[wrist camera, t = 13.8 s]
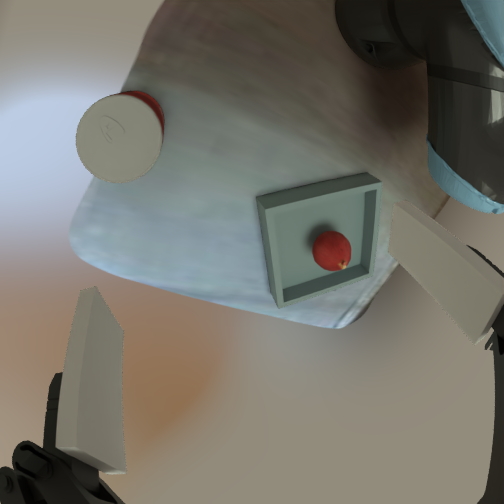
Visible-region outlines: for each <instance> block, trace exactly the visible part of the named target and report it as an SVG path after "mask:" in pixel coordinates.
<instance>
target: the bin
mask: <svg viewBox="0 0 504 504" xmlns="http://www.w3.org/2000/svg"><path fill="white" fill-rule="evenodd" d="M381 195H382V181H380V180H378V179H377V178H375V177H374V176H372V175H370V174H369V173H362V174H357V175H352V176H347V177H342V178H337V179H333V180H328V181H323V182H319V183H314V184H310V185H305V186H301V187H297V188H292V189H288V190H284V191H280V192H275V193H271V194H267V195H263V196H259V197H256V200H257V206H258V212H259V219H260V225H261V231H262V238H263V244H264V251H265V257H266V264H267V271H268V277H269V284H270V291H271V294H272V296H273V298H274V301H275V303H276V305H277V307H278V309H279V308H282V307H285V306H288V305H291V304H295V303H298V302H301V301H304V300H307V299H310V298H313V297H316V296H319V295H321V294H324V293H327V292H330V291H333V290H336V289H339V288H342V287H344V286H347V285H350V284H353V283H355V282H358V281H361V280H364V279H366V278H369V277H372V276H373V272H374V265H375V257H376V249H377V240H378V231H379V221H380V209H381ZM326 231H337V232H340V233H341V234H343V235H344V236H345V237H346V238H347V239H348V240H349V242H350V245H351V260H350V262H349V263H348V265H347V267H346V268H345V269H342V270H339V271H328V270H325V269H323V268H321V267H320V266H319V265H318V264H317V263H316V262H315V261H314V258H313V254H312V248H313V244H314V242H315V240H316V238H317V237H318V236H319V235H320V234H322V233H324V232H326Z"/></svg>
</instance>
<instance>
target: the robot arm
mask: <svg viewBox="0 0 504 504" xmlns="http://www.w3.org/2000/svg"><path fill="white" fill-rule="evenodd" d="M336 17H337V22H338V25H339V28H340V31H341V33H342V35H343V37H344V39H345V40H346V42H347V43H348V45H349V46H350V47H351V49H352V50H353V51H354V52H355V53H356V54H357V55H358V56H359V57H360V58H362V59H363V60H364V61H366V62H368V63H370V64H372V65H374V66H377V67H380V68H388V69H402V68H406V67H409V66H412V65H415V64H418V63H421V62H424V61H426V63H427V78H428V134H427V136H426V141H427V144H428V169H429V172H430V174H431V176H432V178H433V179H434V181H435V182H436V183H437V184H438V185H439V187H440V188H441V189H442V190H443V191H445V192H446V193H447V194H448V195H450V196H451V197H453V198H454V199H456V200H457V201H459V202H461V203H462V204H464V205H466V206H468V207H471V208H473V209H475V210H478V211H481V212H485V213H491V212H493V213H495V214H500V213H503V212H504V0H337V1H336ZM388 253H389V254H390V255H391V256H392V257H393V258H395V259H396V260H397V261H398V262H399V263H400V264H401V265H402V266H403V267H404V268H405V269H406V270H407V271H408V272H409V273H410V275H411V276H413V278H414V279H415V280H417V282H418V283H419V284H420V285H421V286H422V287H423V288H424V289H425V290H426V291H427V292H428V293H429V294H430V295H431V296H432V297H433V299H434V300H435V301H436V302H437V303H438V304H439V305H440V306H441V307H442V308H443V310H444V311H445V312H446V313H447V314H448V315H449V316H450V317H451V319H452V320H453V321H454V322H455V323H456V324H457V325H458V327H459V328H460V329H461V330H462V331H463V332H464V334H465V335H466V336H467V337H468V338H469V339H470V341H471V342H472V343H473V344H474V345H475V344H477V343H478V342H479V341H481V340H482V339H483V338H484V337H485V336H486V335H487V333H488V331H489V330H490V328H491V327H492V328H493V329H494V332H493V334H492V335H491V337H490V338H489V340H488V342H487V343H486V345H485V350H487V348H488V347H489V346H490V344H491V343H493V344H492V346H491V348H490V350H493V354H494V370H495V420H494V435H493V445H492V454H491V462H490V469H489V474H488V480H487V486H486V490H485V493H484V495H483V497H482V498H481V499H480V501H479V502H478V503H477V504H504V273H503V272H502V271H501V270H499V268H497V267H496V266H495V265H493V264H492V262H491V261H489V260H488V259H486V257H485V256H484V255H482V254H481V253H480V252H479V251H478V250H476V249H474V248H472V247H470V246H468V245H465V244H464V243H463V242H461V241H460V240H459V239H458V238H456V237H455V236H454V235H453V234H452V233H450V232H449V231H448V230H446V229H445V228H444V227H443V226H441V225H440V224H439V223H437V222H436V221H434V220H433V219H432V218H431V217H429V216H428V215H426V214H425V213H424V212H422V211H421V210H420V209H418V208H417V207H415V206H414V205H412V204H411V203H410V202H408V201H407V200H404V201H400V202H396V203H394V206H393V216H392V225H391V233H390V240H389V247H388ZM123 338H124V330H123V329H122V327H121V326H120V324H119V323H118V321H117V320H116V318H115V317H114V315H113V313H112V312H111V310H110V309H109V307H108V305H107V304H106V302H105V301H104V299H103V297H102V295H101V294H100V292H99V290H98V289H97V287H96V286H94V287H91V288H88V289H84V290H81V291H80V294H79V298H78V302H77V306H76V310H75V314H74V318H73V323H72V327H71V331H70V336H69V341H68V346H67V352H66V357H65V363H64V369H63V372H61V373H56V374H55V376H54V378H53V380H52V382H51V384H50V386H49V393H48V401H47V412H46V416H45V427H44V439H43V448H41V447H39V446H38V445H36V444H35V443H33V442H30V441H22V442H21V443H19V444H18V445H17V446H16V448H15V450H14V453H13V456H12V464H13V468H14V470H13V469H11V468H9V467H6V466H5V467H1V468H0V502H1V504H125V503H124V502H123V501H122V500H121V499H120V498H119V497H118V496H117V495H116V494H115V493H114V492H113V491H112V490H111V489H110V487H109V486H108V485H107V484H106V483H105V482H104V481H103V480H102V479H100V478H99V471H102V472H104V473H106V474H127V470H126V459H125V447H124V433H123V407H122V406H123V405H122V362H123ZM98 470H99V471H98Z"/></svg>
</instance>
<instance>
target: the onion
mask: <svg viewBox="0 0 504 504" xmlns="http://www.w3.org/2000/svg"><path fill="white" fill-rule="evenodd" d="M312 254H313V258H314V261H315V262H316V263H317V264H318V265H319V266H320V267H321V268H323V269H325V270H328V271H339V270H342V269H345V268H346V267H347V265H348V263H349V262H350V260H351V245H350V242H349V240H348V239H347V238H346V237H345V236H344V235H343V234H341V233H340V232H337V231H326V232H324V233H322V234H320V235H319V236H318V237H317V238H316V240H315V242H314V244H313V248H312Z"/></svg>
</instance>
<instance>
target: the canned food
mask: <svg viewBox="0 0 504 504" xmlns="http://www.w3.org/2000/svg"><path fill="white" fill-rule="evenodd" d="M163 133H164V115H163V112H162V109H161V107H160V105H159V104H158V103H157V101H156V100H155V99H154V98H152V97H151V96H150V95H148V94H146V93H143V92H139V91H127V92H122V93H118V94H114V95H110V96H107V97H105V98H102V99H100V100H99V101H97V102H96V103H94V104H93V105H92V106H91V107H90V108H89V109H88V110H87V111H86V112H85V113H84V115H83V117H82V118H81V120H80V122H79V125H78V128H77V133H76V147H77V152H78V155H79V157H80V160H81V161H82V163H83V165H84V166H85V167H86V169H87V170H88V171H90V172H91V174H93V175H94V176H96V177H97V178H99V179H102V180H104V181H107V182H112V183H125V182H130V181H133V180H135V179H138V178H139V177H141V176H142V175H144V174H145V173H146V172H147V171H149V170H150V169H151V167H152V166H153V165H154V163H155V162H156V160H157V158H158V156H159V154H160V151H161V147H162V143H163Z"/></svg>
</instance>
